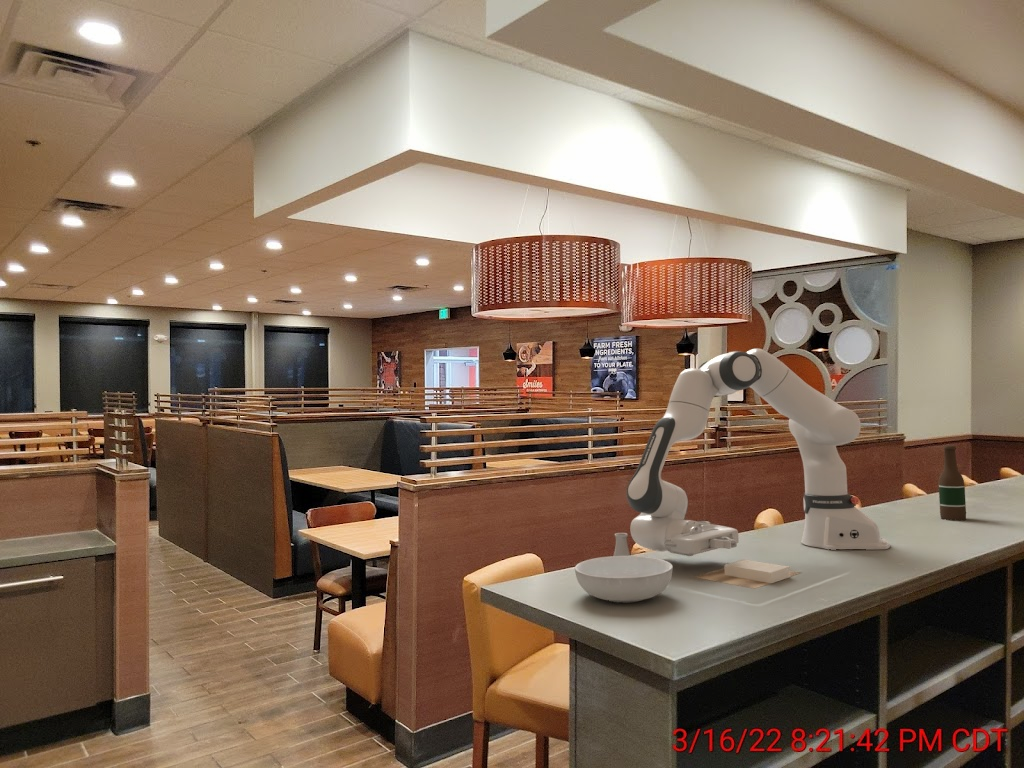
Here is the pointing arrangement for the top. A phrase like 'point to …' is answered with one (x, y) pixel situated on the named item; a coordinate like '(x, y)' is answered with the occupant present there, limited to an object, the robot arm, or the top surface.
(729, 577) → the wooden board
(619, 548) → the flask
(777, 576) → the tile
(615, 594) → the serving bowl
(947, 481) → the beer bottle
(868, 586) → the top surface
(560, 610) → the top surface
